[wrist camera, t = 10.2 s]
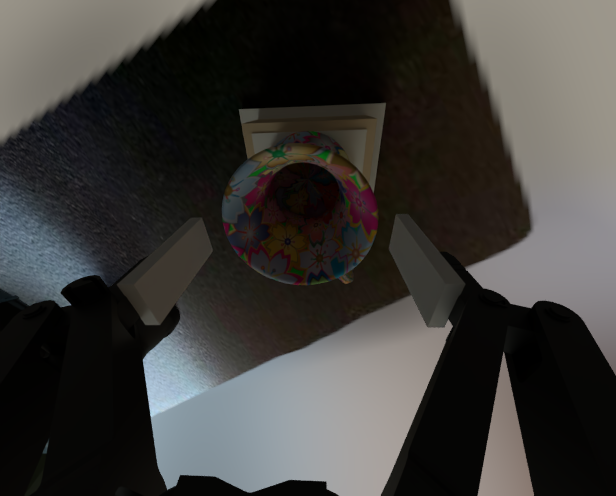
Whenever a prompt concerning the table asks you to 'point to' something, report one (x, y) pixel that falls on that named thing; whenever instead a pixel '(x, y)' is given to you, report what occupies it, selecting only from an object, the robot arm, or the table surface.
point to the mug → (301, 211)
